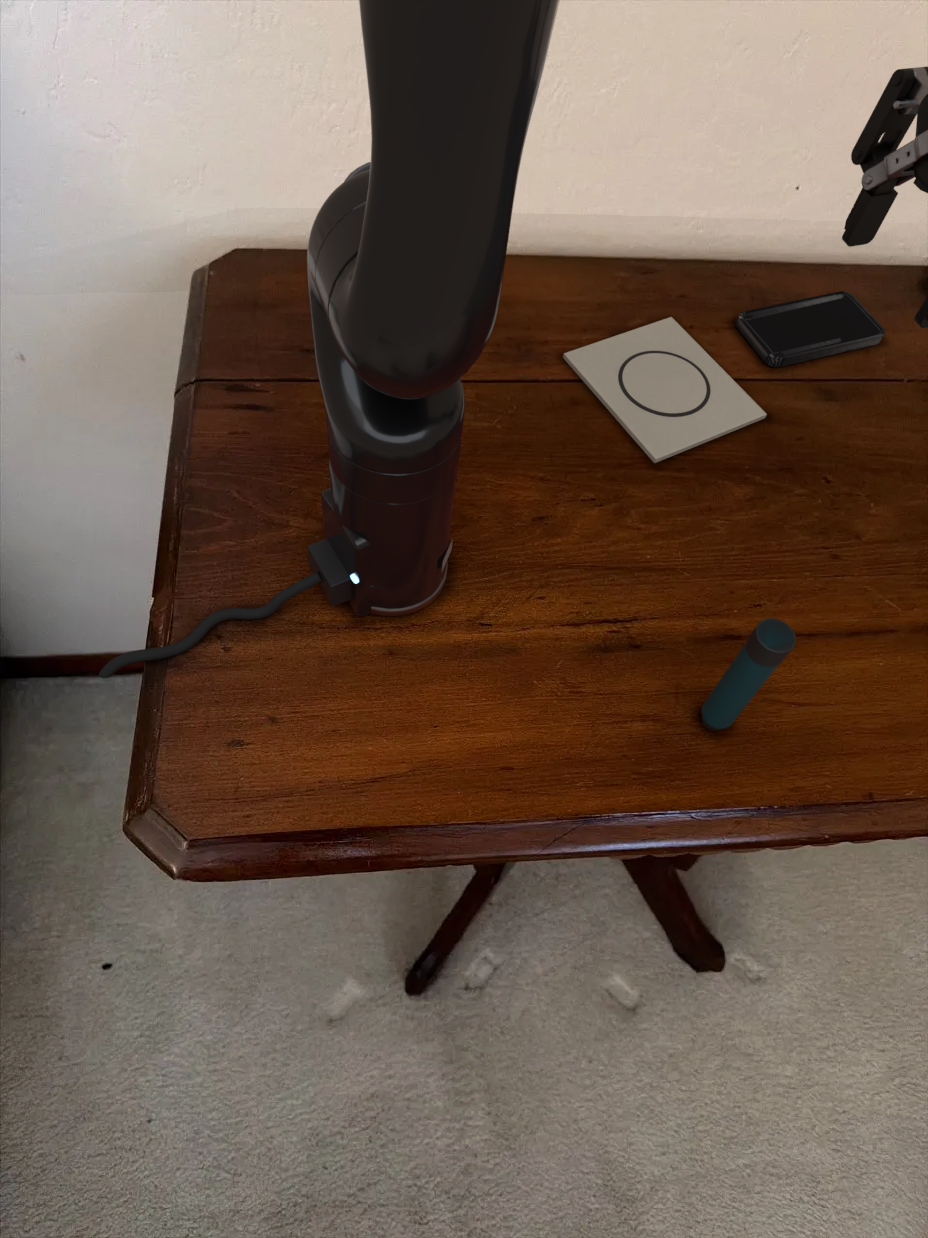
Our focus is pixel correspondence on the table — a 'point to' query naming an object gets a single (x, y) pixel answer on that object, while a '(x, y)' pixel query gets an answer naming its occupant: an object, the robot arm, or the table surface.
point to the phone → (809, 328)
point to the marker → (748, 672)
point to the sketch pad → (663, 388)
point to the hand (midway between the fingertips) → (890, 281)
